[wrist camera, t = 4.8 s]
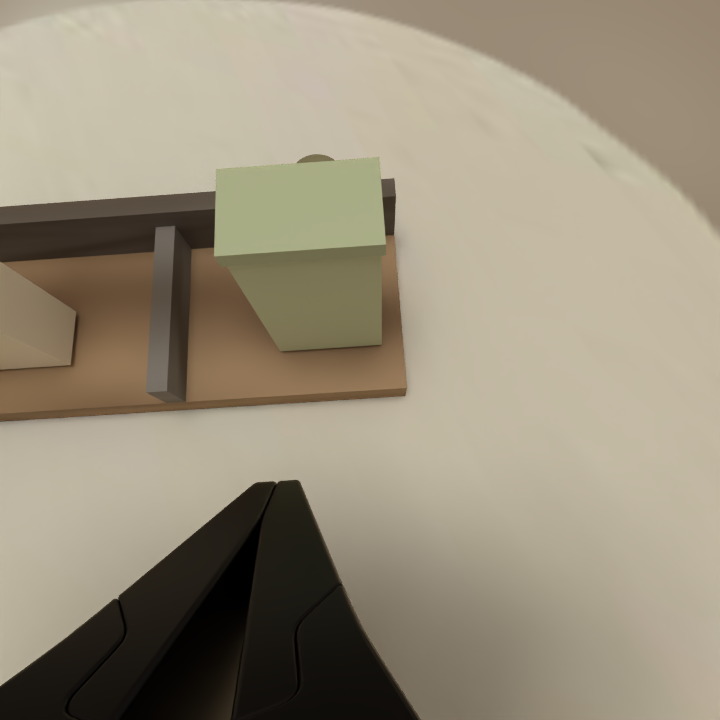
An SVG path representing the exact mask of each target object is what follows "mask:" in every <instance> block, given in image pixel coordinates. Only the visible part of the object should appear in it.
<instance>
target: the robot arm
mask: <svg viewBox="0 0 720 720" xmlns="http://www.w3.org/2000/svg"><path fill="white" fill-rule="evenodd" d="M118 600H119V601H118ZM0 720H421V719H420V718H419V716H418V715H417V713H416V712H415V710H414V708H413V707H412V705H411V704H410V702H409V701H408V699H407V698H406V696H405V694H404V693H403V691H402V690H401V688H400V687H399V685H398V684H397V682H396V681H395V679H394V677H393V676H392V674H391V673H390V671H389V670H388V668H387V667H386V665H385V663H384V662H383V660H382V659H381V657H380V656H379V654H378V653H377V651H376V649H375V648H374V646H373V644H372V643H371V641H370V639H369V637H368V636H367V634H366V632H365V631H364V629H363V627H362V625H361V623H360V621H359V619H358V617H357V615H356V613H355V611H354V609H353V607H352V604H351V602H350V600H349V598H348V595H347V593H346V590H345V588H344V587H343V584H342V582H341V580H340V577H339V575H338V572H337V570H336V568H335V565H334V563H333V560H332V558H331V556H330V553H329V551H328V548H327V546H326V544H325V541H324V539H323V536H322V534H321V532H320V529H319V527H318V524H317V522H316V519H315V517H314V515H313V512H312V510H311V507H310V505H309V503H308V500H307V498H306V495H305V493H304V491H303V488H302V486H301V483H300V482H299V481H298V480H288V481H279V482H278V483H276V482H273V481H272V482H257V483H255V484H253V485H252V486H251V487H249V488H248V489H247V490H246V491H245V492H243V493H242V494H241V495H240V496H239V497H237V498H236V499H235V500H234V501H233V502H231V503H230V504H229V505H228V506H227V507H225V508H224V509H223V510H222V511H221V512H219V513H218V514H217V515H216V516H215V517H213V518H212V519H211V520H210V521H209V522H207V523H206V524H205V525H204V526H203V527H201V528H200V529H199V530H198V531H196V532H195V533H194V534H193V535H192V536H190V537H189V538H188V539H187V540H186V541H184V542H183V543H182V544H181V545H180V546H178V547H177V548H176V549H175V550H174V551H172V552H171V553H170V554H169V555H168V556H166V557H165V558H164V559H163V560H162V561H160V562H159V563H158V564H157V565H156V566H154V567H153V568H152V569H151V570H149V571H148V572H147V573H146V574H145V575H143V576H142V577H141V578H140V579H139V580H137V581H136V582H135V583H134V584H133V585H131V586H130V587H129V588H128V589H127V590H125V591H124V592H123V593H122V594H121V595H119V597H118V599H113V600H112V601H111V602H110V603H109V604H107V605H106V606H105V607H104V608H102V609H101V610H100V611H99V612H98V613H96V614H95V615H94V616H93V617H91V618H90V619H89V620H88V621H86V622H85V623H84V624H83V625H81V626H80V627H79V628H78V629H76V630H75V631H74V632H73V633H71V634H70V635H69V636H68V637H66V638H65V639H64V640H62V641H61V642H60V643H58V644H57V645H56V646H54V647H53V648H52V649H50V650H49V651H48V652H46V653H45V654H44V655H42V656H41V657H40V658H38V659H37V660H36V661H34V662H33V663H31V664H30V665H29V666H27V667H26V668H25V669H23V670H22V671H21V672H19V673H18V674H16V675H15V676H14V677H12V678H11V679H9V680H8V681H7V682H5V683H4V684H2V685H1V686H0Z"/></svg>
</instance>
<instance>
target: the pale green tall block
mask: <svg viewBox="0 0 720 720" xmlns="http://www.w3.org/2000/svg"><path fill="white" fill-rule="evenodd" d="M382 256H386V238H385V225H384V212H383V200H382V187H381V174H380V161H379V157H377V158H363V159H350V160H336V161H322V162H309V163H295V164H281V165H268V166H254V167H241V168H227V169H216V200H215V240H214V257H215V258H216V260H217V262H218V263H219V265H220V266H221V267H227V268H228V269H229V271H230V272H231V274H232V275H233V277H234V279H235V280H236V282H237V283H238V285H239V287H240V288H241V290H242V291H243V293H244V295H245V296H246V298H247V299H248V301H249V302H250V304H251V306H252V307H253V309H254V310H255V312H256V314H257V315H258V317H259V318H260V320H261V322H262V323H263V325H264V326H265V328H266V329H267V331H268V333H269V334H270V336H271V337H272V339H273V341H274V342H275V344H276V345H277V347H278V349H279V350H280V351H295V350H310V349H325V348H340V347H356V346H371V345H382Z"/></svg>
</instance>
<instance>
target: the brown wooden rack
mask: <svg viewBox="0 0 720 720" xmlns="http://www.w3.org/2000/svg"><path fill="white" fill-rule="evenodd" d="M322 161H335V160H334V159H332V158H330V157H328V156H325V155H319V154H316V155H309V156H306V157H304V158H302V159H301V160H299V161H298V162H297V163H309V162H322ZM381 187H382V200H383V212H384V225H385V238H386V256H382V345H371V346H356V347H340V348H325V349H310V350H295V351H280V350H279V349H278V347H277V345H276V344H275V342H274V341H273V339H272V337H271V336H270V334H269V333H268V331H267V329H266V328H265V326H264V325H263V323H262V322H261V320H260V318H259V317H258V315H257V314H256V312H255V310H254V309H253V307H252V306H251V304H250V302H249V301H248V299H247V298H246V296H245V295H244V293H243V291H242V290H241V288H240V287H239V285H238V283H237V282H236V280H235V279H234V277H233V275H232V274H231V272H230V271H229V269H228V268H227V267H221V266H220V265H219V263H218V262H217V260H216V258H215V257H214V240H215V200H216V191H214V192H200V193H186V194H172V195H158V196H145V197H131V198H117V199H103V200H89V201H76V202H62V203H48V204H34V205H21V206H7V207H0V262H2V263H3V264H5V265H6V266H8V267H9V268H11V269H12V270H14V271H15V272H17V273H18V274H20V275H21V276H23V277H24V278H26V279H27V280H29V281H30V282H32V283H34V284H35V285H37V286H38V287H40V288H41V289H43V290H44V291H46V292H47V293H49V294H50V295H52V296H53V297H55V298H56V299H58V300H59V301H61V302H62V303H64V304H65V305H67V306H69V307H70V308H72V309H73V310H75V311H76V318H75V328H74V337H73V347H72V357H71V365H65V366H50V367H35V368H19V369H4V370H0V421H13V420H29V419H45V418H61V417H76V416H92V415H108V414H124V413H140V412H156V411H171V410H187V409H203V408H219V407H235V406H251V405H266V404H282V403H298V402H314V401H330V400H346V399H361V398H377V397H393V396H405V394H406V389H407V385H406V373H405V361H404V349H403V337H402V325H401V313H400V301H399V289H398V277H397V264H396V252H395V240H394V225H395V203H396V193H395V181H394V178H393V179H381Z"/></svg>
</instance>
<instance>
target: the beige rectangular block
mask: <svg viewBox="0 0 720 720" xmlns="http://www.w3.org/2000/svg"><path fill="white" fill-rule="evenodd" d="M75 318H76V311H75V310H73V309H72V308H70V307H69V306H67V305H65V304H64V303H62V302H61V301H59V300H58V299H56V298H55V297H53V296H52V295H50V294H49V293H47V292H46V291H44V290H43V289H41V288H40V287H38V286H37V285H35V284H34V283H32V282H30V281H29V280H27V279H26V278H24V277H23V276H21V275H20V274H18V273H17V272H15V271H14V270H12V269H11V268H9V267H8V266H6V265H5V264H3V263H2V262H0V370H4V369H19V368H35V367H50V366H65V365H71V357H72V347H73V337H74V328H75Z"/></svg>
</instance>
